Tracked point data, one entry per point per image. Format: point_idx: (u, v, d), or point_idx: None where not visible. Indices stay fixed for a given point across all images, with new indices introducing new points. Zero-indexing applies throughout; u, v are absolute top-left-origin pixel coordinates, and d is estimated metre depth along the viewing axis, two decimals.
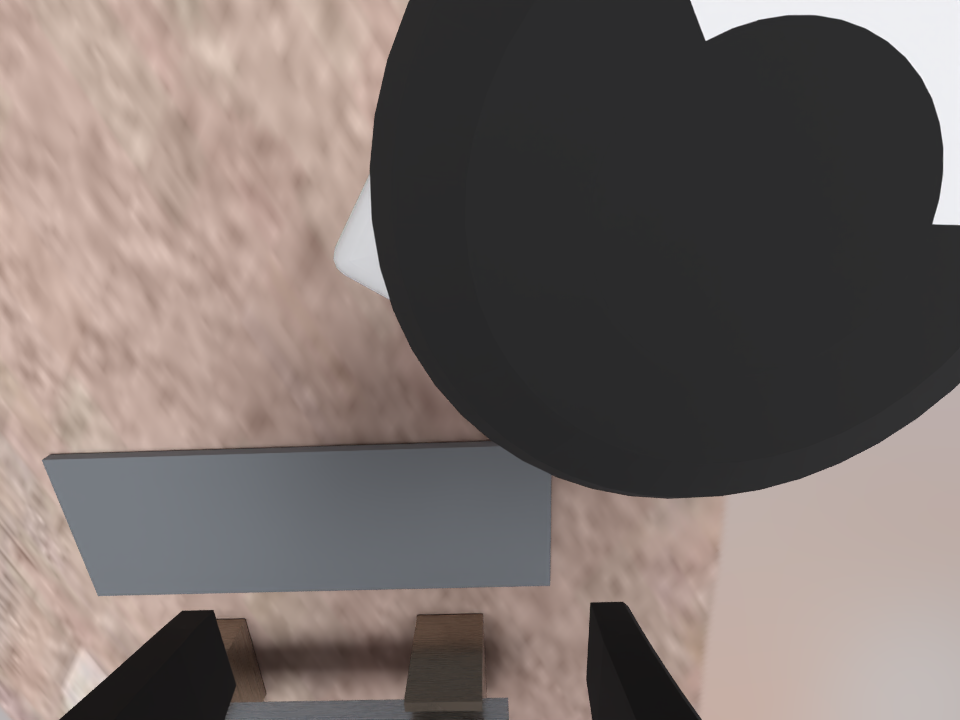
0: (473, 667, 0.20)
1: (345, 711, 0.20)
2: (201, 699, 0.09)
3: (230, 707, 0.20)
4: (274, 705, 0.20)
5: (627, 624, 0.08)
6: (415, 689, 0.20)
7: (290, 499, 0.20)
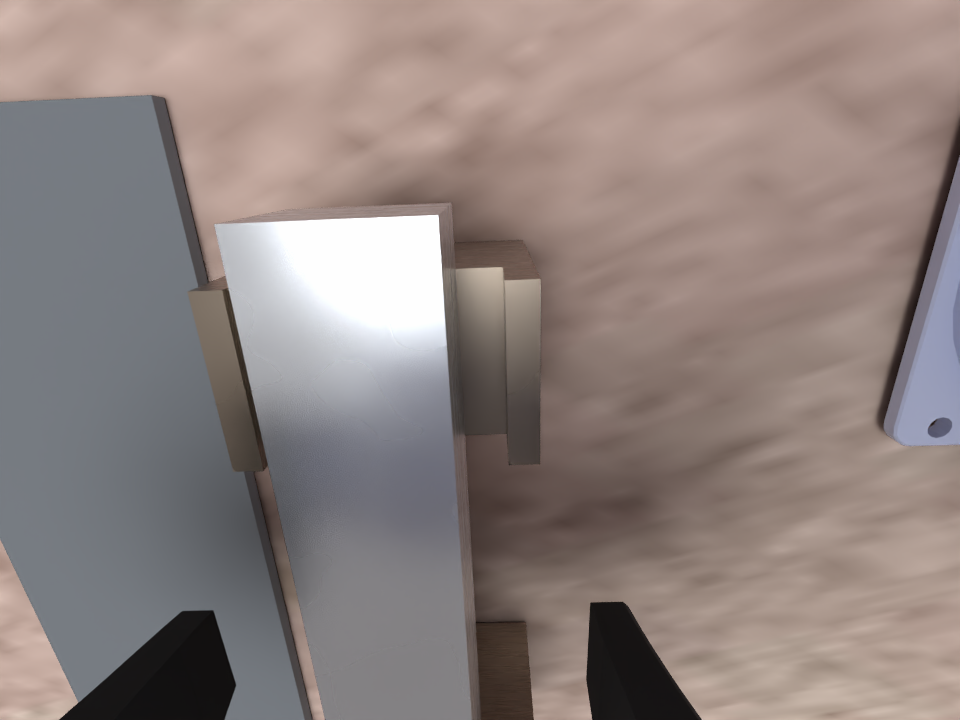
0: None
1: None
2: (201, 699, 0.09)
3: None
4: None
5: (627, 624, 0.08)
6: None
7: (82, 544, 0.13)
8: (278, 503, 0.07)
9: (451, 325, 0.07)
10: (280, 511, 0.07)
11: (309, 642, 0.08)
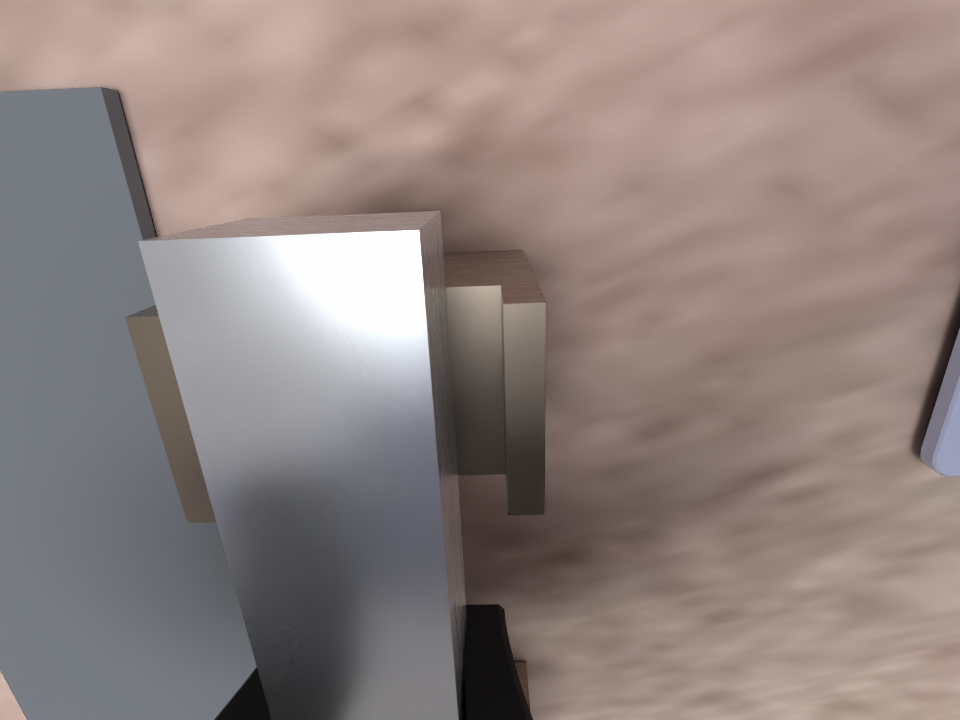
0: None
1: None
2: None
3: None
4: None
5: (492, 627, 0.08)
6: None
7: (40, 582, 0.12)
8: (232, 571, 0.06)
9: (439, 358, 0.06)
10: (236, 579, 0.06)
11: None
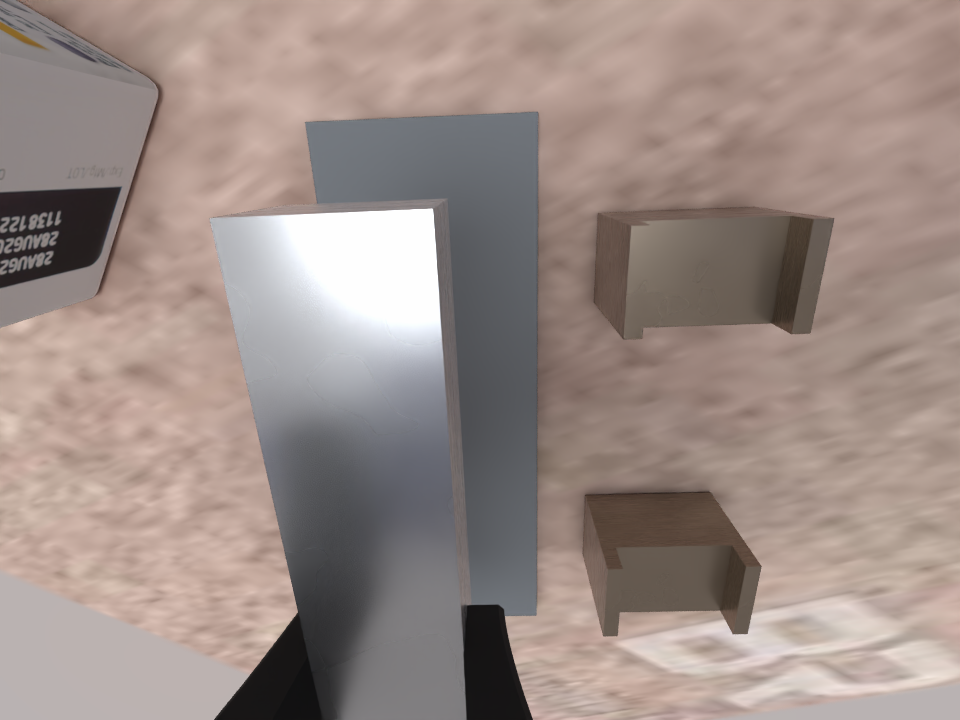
0: (616, 233, 0.14)
1: None
2: None
3: None
4: None
5: (492, 627, 0.08)
6: (619, 320, 0.14)
7: None
8: (274, 498, 0.07)
9: (447, 320, 0.07)
10: (277, 506, 0.07)
11: (306, 637, 0.08)
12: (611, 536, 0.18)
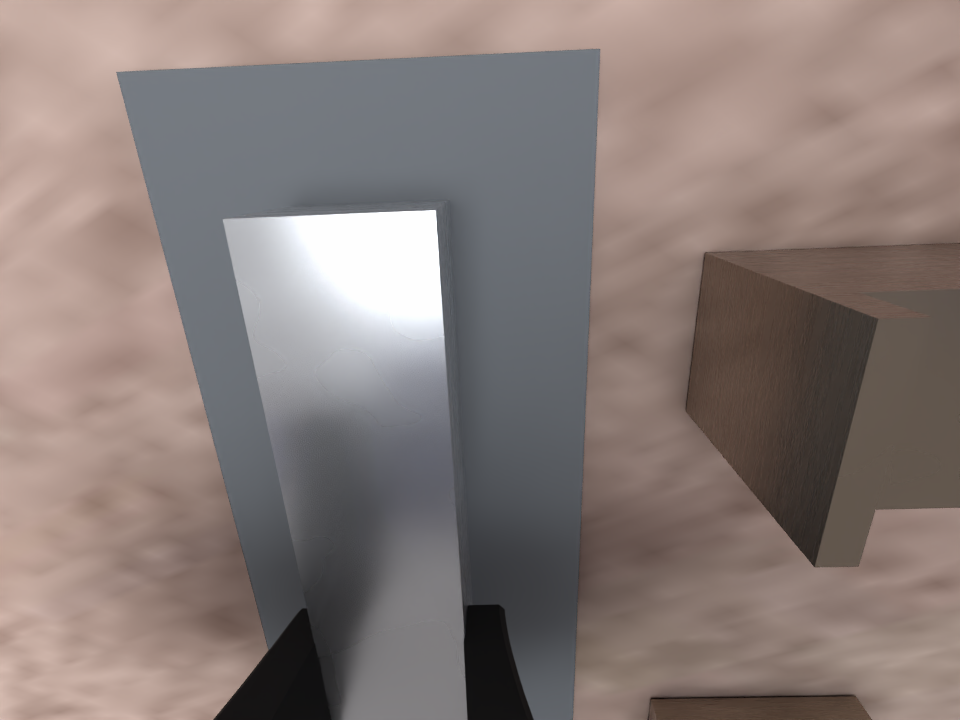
0: (787, 315, 0.06)
1: None
2: None
3: None
4: None
5: (493, 627, 0.08)
6: (794, 511, 0.06)
7: None
8: (282, 488, 0.07)
9: (448, 317, 0.07)
10: (285, 496, 0.07)
11: (312, 624, 0.08)
12: None
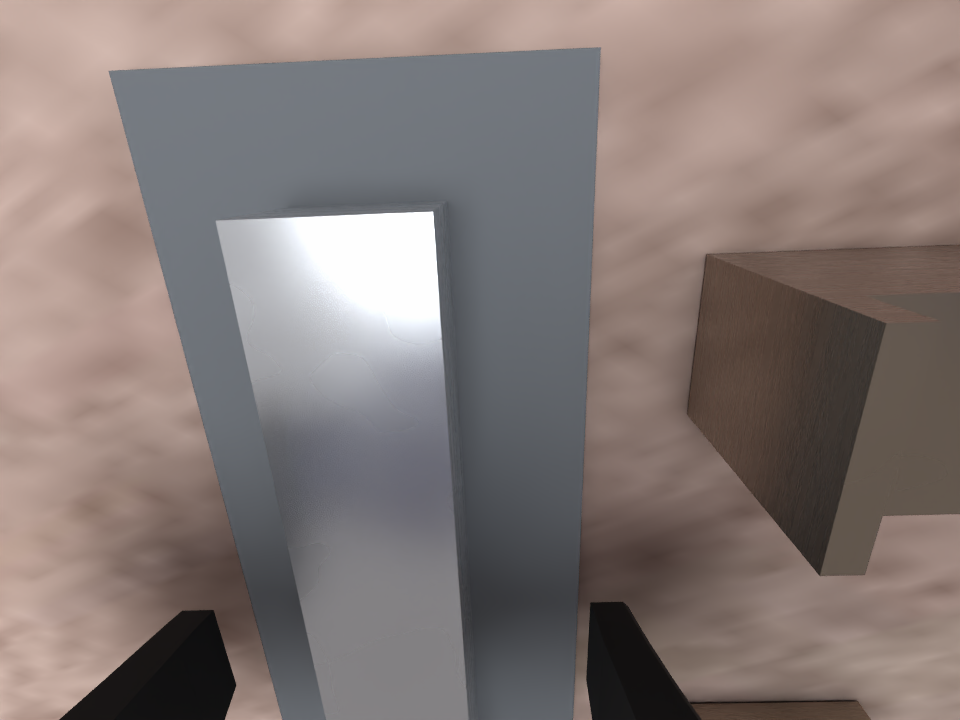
0: (792, 318, 0.06)
1: None
2: (201, 699, 0.09)
3: None
4: None
5: (627, 624, 0.08)
6: (799, 518, 0.06)
7: None
8: (277, 494, 0.07)
9: (446, 320, 0.07)
10: (280, 502, 0.07)
11: (308, 631, 0.08)
12: None
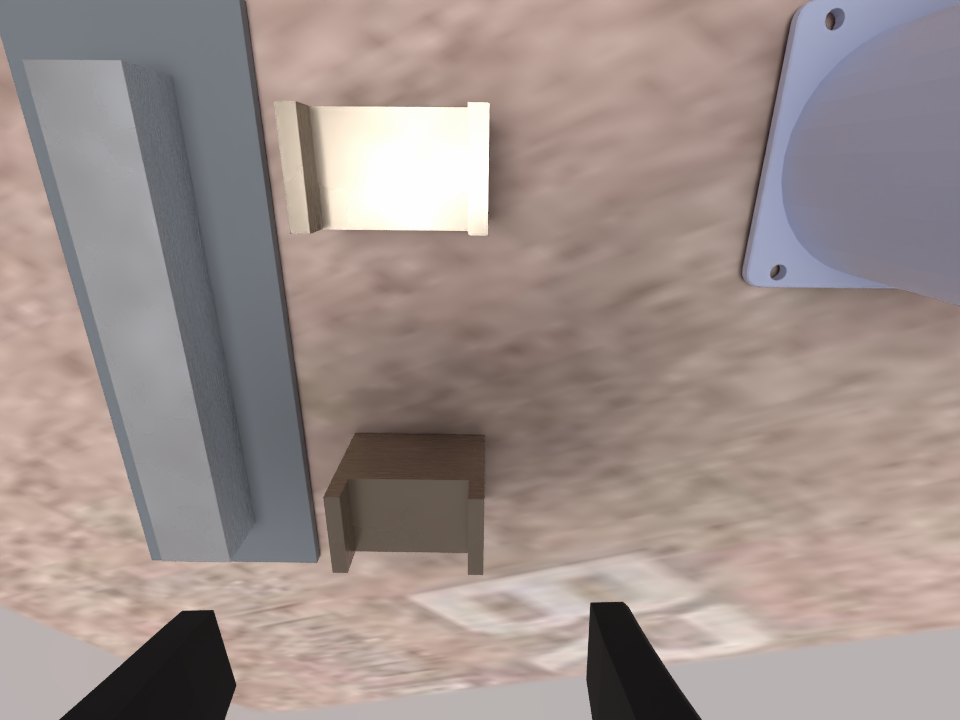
0: None
1: None
2: (201, 699, 0.09)
3: None
4: None
5: (627, 624, 0.08)
6: None
7: None
8: (66, 214, 0.14)
9: (155, 129, 0.14)
10: (69, 221, 0.14)
11: (93, 308, 0.15)
12: (351, 469, 0.17)
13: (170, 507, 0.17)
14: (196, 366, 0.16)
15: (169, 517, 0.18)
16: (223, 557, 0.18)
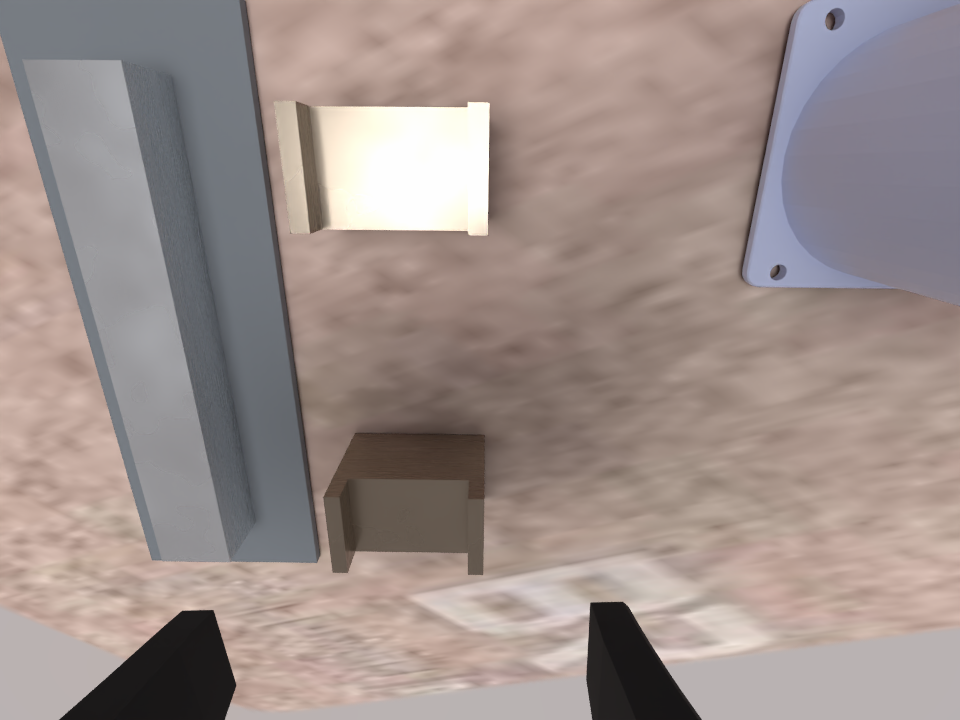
0: None
1: None
2: (201, 699, 0.09)
3: None
4: None
5: (627, 624, 0.08)
6: None
7: None
8: (66, 214, 0.14)
9: (155, 129, 0.14)
10: (69, 221, 0.14)
11: (93, 308, 0.15)
12: (351, 469, 0.17)
13: (170, 507, 0.17)
14: (196, 366, 0.16)
15: (169, 517, 0.18)
16: (223, 557, 0.18)
